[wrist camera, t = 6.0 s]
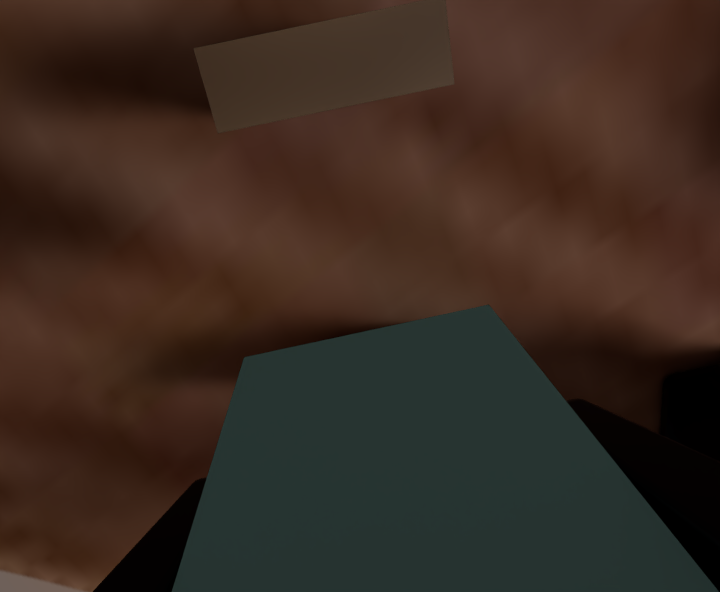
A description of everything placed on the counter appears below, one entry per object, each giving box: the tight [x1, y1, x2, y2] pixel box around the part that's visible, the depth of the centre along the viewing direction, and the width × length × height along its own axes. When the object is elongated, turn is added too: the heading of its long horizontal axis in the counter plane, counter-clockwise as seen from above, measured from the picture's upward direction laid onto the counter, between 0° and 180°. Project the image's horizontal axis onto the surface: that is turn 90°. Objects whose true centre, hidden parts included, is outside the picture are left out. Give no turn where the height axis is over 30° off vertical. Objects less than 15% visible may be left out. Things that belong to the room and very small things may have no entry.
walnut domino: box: [193, 0, 454, 133], centre depth 13 cm, size 2×5×8 cm, turn 101°
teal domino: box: [172, 305, 719, 592], centre depth 6 cm, size 2×5×8 cm, turn 101°
